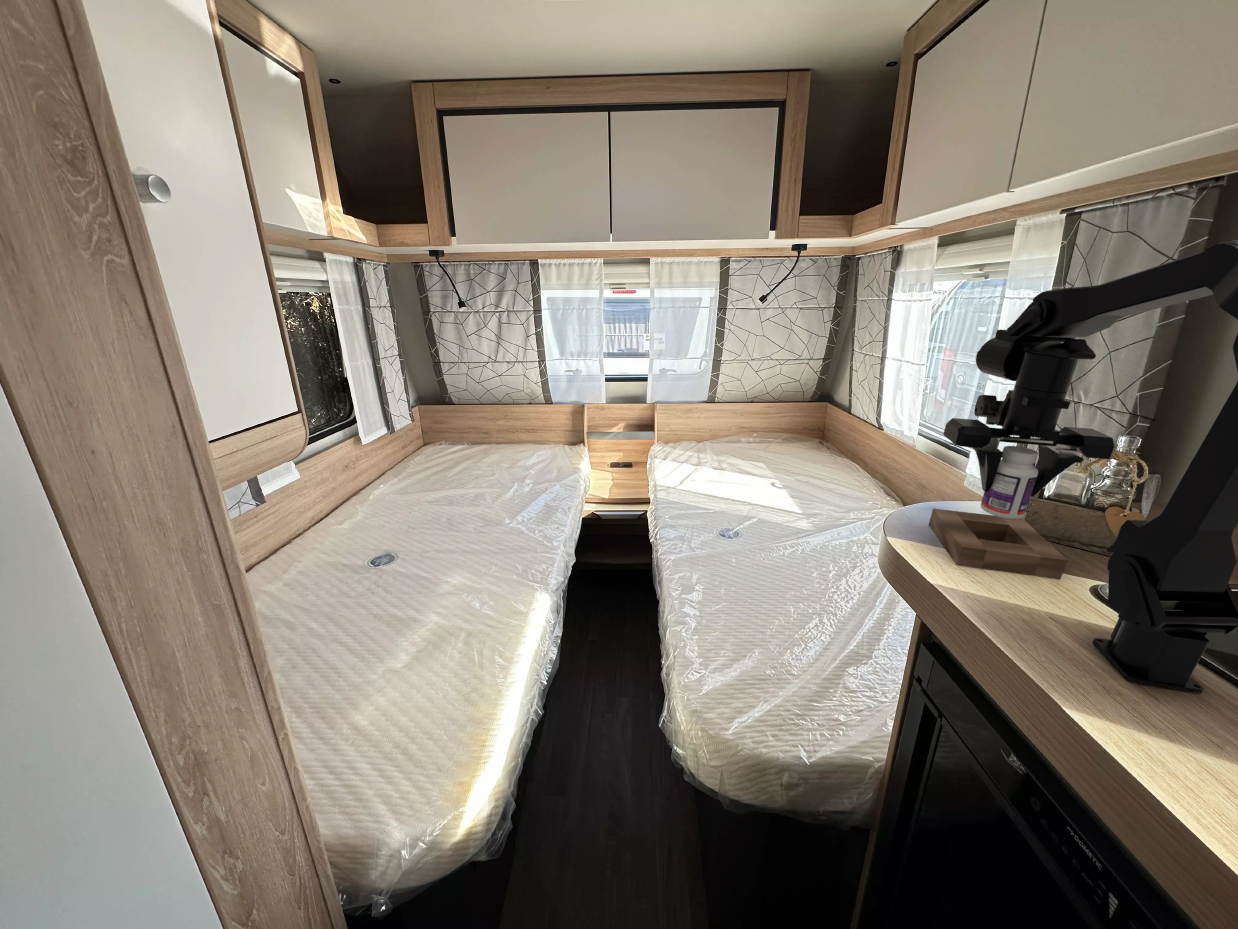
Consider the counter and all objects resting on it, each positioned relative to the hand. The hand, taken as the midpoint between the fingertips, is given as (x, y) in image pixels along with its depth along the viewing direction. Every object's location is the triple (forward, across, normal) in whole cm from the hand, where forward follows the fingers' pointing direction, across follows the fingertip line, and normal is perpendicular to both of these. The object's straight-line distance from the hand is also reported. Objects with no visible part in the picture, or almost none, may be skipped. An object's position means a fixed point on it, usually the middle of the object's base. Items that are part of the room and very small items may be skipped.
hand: (1007, 493), depth 75 cm
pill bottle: (+3, 0, 0) cm, 3 cm away
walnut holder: (+10, 0, 0) cm, 10 cm away
